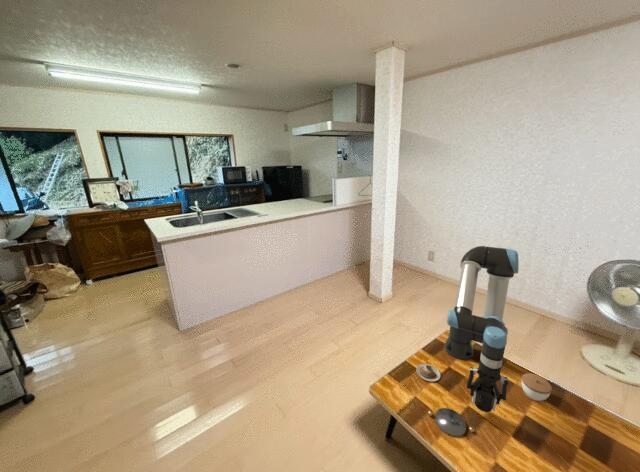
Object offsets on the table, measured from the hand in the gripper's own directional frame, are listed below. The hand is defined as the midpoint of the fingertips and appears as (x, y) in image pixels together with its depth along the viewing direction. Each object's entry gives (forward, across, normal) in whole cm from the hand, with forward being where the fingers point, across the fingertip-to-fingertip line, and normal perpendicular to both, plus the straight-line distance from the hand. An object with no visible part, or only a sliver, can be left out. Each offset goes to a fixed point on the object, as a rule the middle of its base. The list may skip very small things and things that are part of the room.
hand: (483, 404), depth 113 cm
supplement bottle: (+1, 0, 0) cm, 1 cm away
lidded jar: (+6, +22, +21) cm, 31 cm away
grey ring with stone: (+6, -24, +14) cm, 28 cm away
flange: (+5, -12, -11) cm, 17 cm away
